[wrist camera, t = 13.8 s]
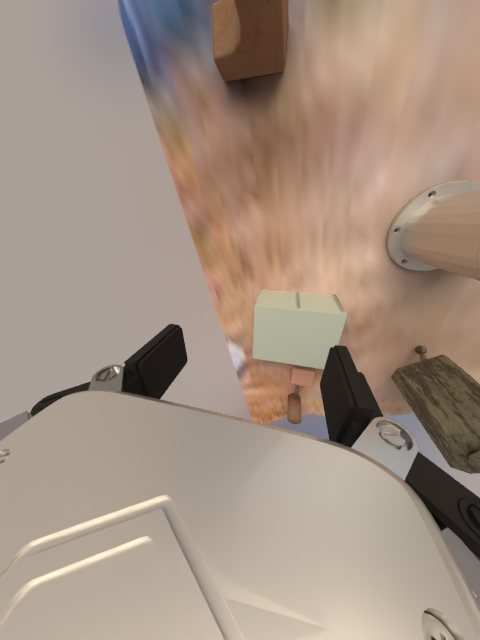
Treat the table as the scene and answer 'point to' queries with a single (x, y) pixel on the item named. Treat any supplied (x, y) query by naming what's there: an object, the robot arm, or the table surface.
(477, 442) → the tabletop clock
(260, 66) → the wooden block
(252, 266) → the table surface
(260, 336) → the cubby shelf
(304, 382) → the corded block
